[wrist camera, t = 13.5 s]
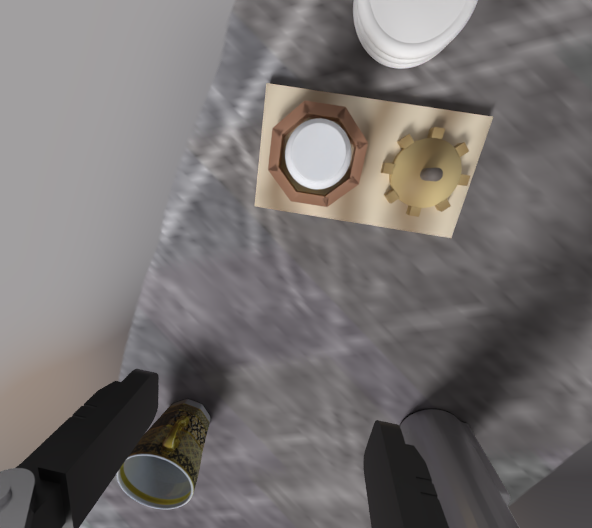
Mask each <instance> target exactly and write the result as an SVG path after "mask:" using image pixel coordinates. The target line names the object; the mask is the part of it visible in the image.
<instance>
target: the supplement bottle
mask: <svg viewBox="0 0 592 528" xmlns="http://www.w3.org/2000/svg"><path fill="white" fill-rule="evenodd" d="M285 160H286V165H287V168H288V170H289V172H290V174H291V176H292V177H293V178H294V179H295V180H296V181H297V182H298V183H299V184H301V185H303V186H305V187H307V188H310V189H325V188H328V187H330V186H332V185H334V184H336V183H337V182H338V181H339V180H340V179H341V178H342V177H343V176H344V175H345V173H346V172H347V170H348V167H349V165H350V161H351V144H350V141H349V138H348V136H347V134H346V133H345V131H344V130H343V129H342V128H341V127H340V126H339V125H338V124H336V123H335V122H333V121H330V120H327V119H322V118H316V119H311V120H308V121H305V122H304V123H302V124H300V125H299V126H298V127H297V128H296V129H295V130H294V131H293V132H292V134H291V135H290V137H289V139H288V142H287V145H286V150H285Z"/></svg>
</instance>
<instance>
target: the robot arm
mask: <svg viewBox="0 0 592 528" xmlns="http://www.w3.org/2000/svg"><path fill="white" fill-rule="evenodd" d="M157 409H158V374H157V373H154V372H149V371H144V370H140V369H135V370H133V371H132V372H131V373H130V374H129V375H128V376H127V377H126V378H125V379H124V380H123V381H122V382H118V381H115V382H113V383H111V384H109V385H107V386H105V387H104V388H102V389H100V390H98V391H97V392H96V393H95V394H94V395H93V396H92V397H91V398H90V399H89V400H88V401H87V402H86V403H85V404H84V406H81V407H80V408H79V409H78V410H77V411H76V412H75V413H74V414H73V416H72V417H70V418H69V419H68V420H67V421H66V422H64V424H62V425H61V426H60V427H59V428H58V429H57V430H56V431H55V432H54V433H53V434H52V435H51V436H50V437H49V438H48V439H46V440H45V441H44V442H43V443H42V444H41V445H40V446H39V447H38V448H37V449H36V450H35V451H34V452H33V453H32V454H31V455H30V456H29V457H28V458H26V459H25V460H24V461H23V462H22V463H21V464H20V465H19V466H17V467H16V468H14V469H8V470H4V471H1V472H0V528H79V526H80V525H81V524H82V522H83V521H84V519H85V518H86V516H87V515H88V514H89V512H90V511H91V509H92V508H93V506H94V505H95V504H96V502H97V501H98V499H99V498H100V496H101V495H102V494H103V492H104V491H105V489H106V488H107V486H108V485H109V484H110V482H111V481H112V479H113V478H114V476H115V475H116V473H117V472H118V471H119V469H120V468H121V466H122V465H123V463H124V462H125V461H126V459H127V458H128V456H129V455H130V453H131V452H132V451H133V449H134V448H135V446H136V445H137V443H138V442H139V441H140V439H141V438H142V436H143V435H144V433H145V432H146V431H147V429H148V428H149V426H150V425H151V423H152V421H153V420H154V417H155V415H156V412H157ZM364 475H365V483H366V490H367V497H368V504H369V512H370V519H371V526H372V528H519V526H518V524H517V523H516V521H515V519H514V517H513V515H512V514H511V512H510V510H509V508H508V506H507V505H508V503H509V501H510V495H509V493H508V491H507V490H506V488H505V486H504V485H503V483H502V481H501V480H500V478H499V476H498V474H497V473H496V471H495V469H494V468H493V466H492V464H491V462H490V461H489V459H488V457H487V456H486V454H485V452H484V451H483V449H482V447H481V445H480V444H479V442H478V440H477V439H476V437H475V435H474V433H473V432H472V430H471V428H470V427H469V425H468V424H467V423H463V422H461V421H459V420H458V419H457V418H456V417H455V416H454V415H452V414H451V413H448V412H446V411H442V410H437V409H428V410H422V411H419V412H416V413H414V414H412V415H410V416H408V417H407V418H406V419H405V420H404V421H403V422H402V423H401V425H400V426H399V425H397V424H392V423H387V422H383V421H378V420H377V421H375V423H374V426H373V429H372V432H371V435H370V438H369V441H368V444H367V447H366V450H365V454H364Z"/></svg>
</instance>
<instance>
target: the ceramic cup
mask: <svg viewBox="0 0 592 528" xmlns="http://www.w3.org/2000/svg"><path fill="white" fill-rule="evenodd" d="M209 422H210V415H209V414H208V412H207V411H206V409H205V408H204V406H203V405H202V404H200V403H198V402H195V401H192V400H190V399H185V400H182V401H179V402H175V403H173V404H172V405H171V406H170V407H169V408H168V409H167V410H166V411H165V412H164V413H163V414H162V416H161V417H160V418H159V419H158V420H157V421H156V422H155V423H154V424H153V425H152V427H151V428H150V429H149V430H148V431H147V432H146V433H145V434H144V435H143V436H142V438H141V439H140V441H139V442H138V443H137V445H136V446H135V448H134V449H133V451H132V452H131V453H130V455H129V456H128V458H127V459H126V461H125V462H124V463H123V465H122V466H121V468H120V469H119V471H118V472H117V473H116V478H117V481H118V484H119V485H120V487H121V488H122V490H123V491H124V492H125V493H126V494H127V495H128V496H129V497H131V498H132V499H134V500H135V501H137V502H139V503H141V504H143V505H146V506H148V507H152V508H157V509H174V508H178V507H181V506H183V505H185V504H186V503H187V502H188V501H189V500H190V499H191V498H192V496H193V493H194V489H195V485H196V482H197V478H198V473H199V469H200V464H201V458H202V451H203V447H204V443H205V439H206V435H207V430H208V427H209Z"/></svg>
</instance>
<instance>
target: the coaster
mask: <svg viewBox="0 0 592 528" xmlns="http://www.w3.org/2000/svg"><path fill="white" fill-rule="evenodd" d="M477 2H478V0H354V2H353V18H354V25H355V29H356V33H357V35H358V38H359V40H360V42H361V44H362V46H363V48H364V49H365V50H366V52H367V53H368V54H369V55H370V56H371V57H372V58H373V59H374V60H376V61H377V62H379V63H380V64H382V65H385V66H387V67H391V68H399V69H403V68H411V67H415V66H418V65H420V64H423V63H425V62H427V61H429V60H430V59H432V58H433V57H435V56H436V55H437V54H438V53H440V52H441V51H442V50H443V49H444V48H445V47H446V46H447V45H448V44H449V43H450V42H451V41H452V40H453V39H454V38H455V37H456V36H457V35H458V34H459V32H460V31H461V30H462V29H463V27H464V26H465V25H466V23H467V22H468V20H469V18H470V17H471V15H472V13H473V11H474V9H475V6H476V4H477Z"/></svg>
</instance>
